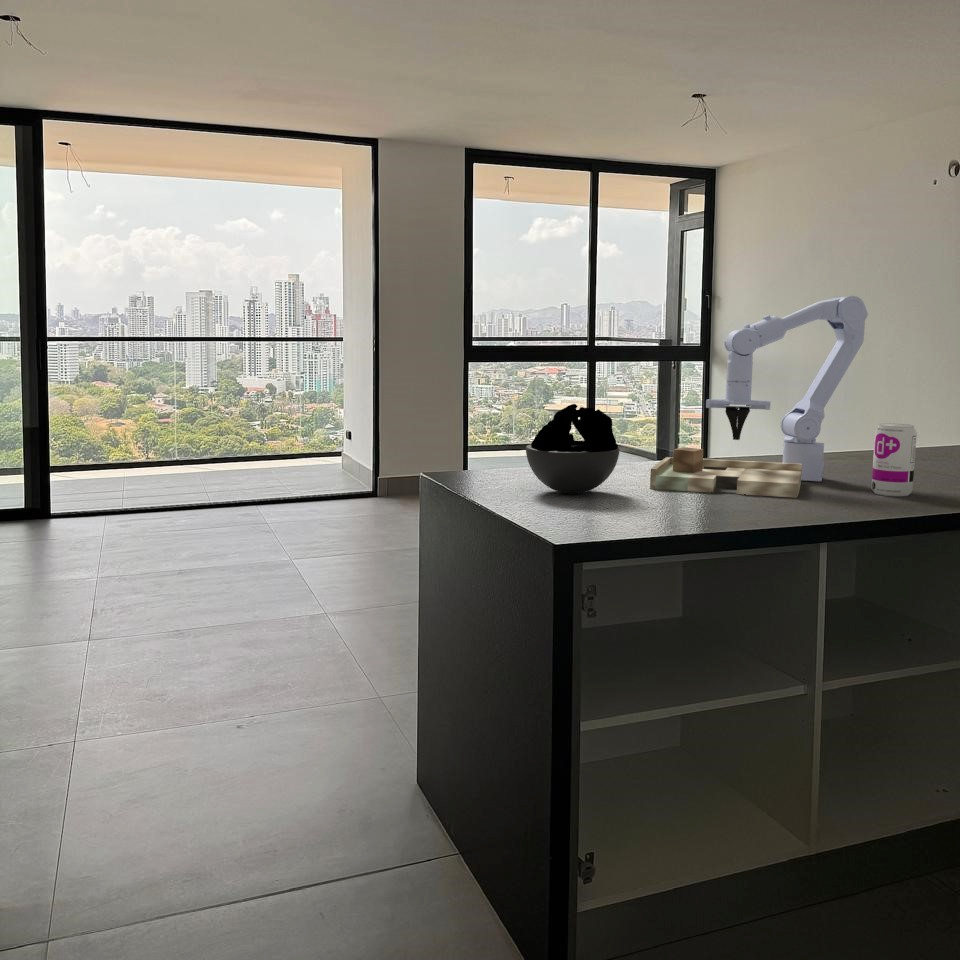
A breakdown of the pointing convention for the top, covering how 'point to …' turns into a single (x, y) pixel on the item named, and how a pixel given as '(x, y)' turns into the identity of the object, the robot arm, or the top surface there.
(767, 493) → the wooden tray
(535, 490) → the top surface
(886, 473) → the supplement can
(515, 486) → the top surface
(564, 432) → the bowl of black rocks
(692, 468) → the walnut block
